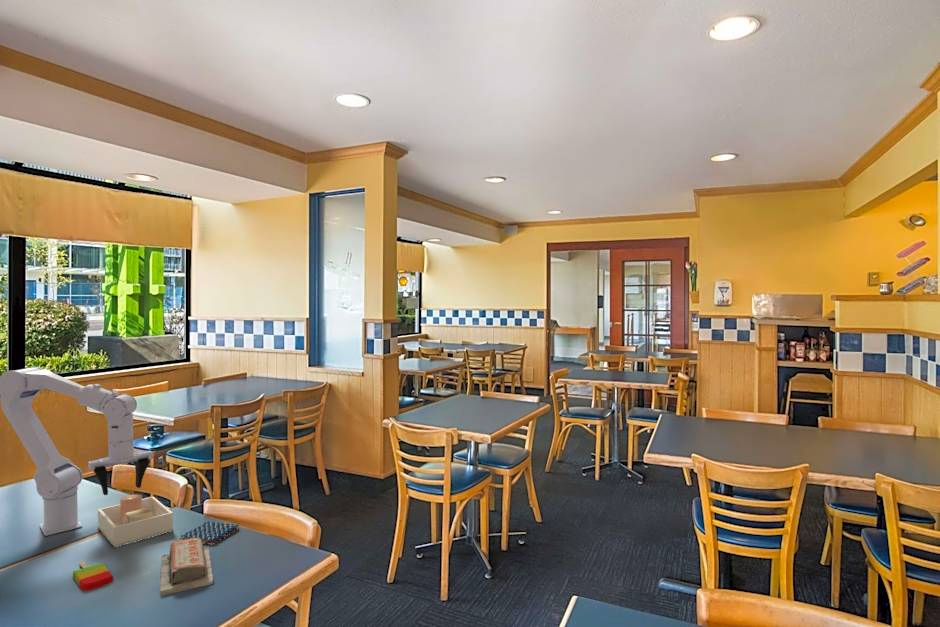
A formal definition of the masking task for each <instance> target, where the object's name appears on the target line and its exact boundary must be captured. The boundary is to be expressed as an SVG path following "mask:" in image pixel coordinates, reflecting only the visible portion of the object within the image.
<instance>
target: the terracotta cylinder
mask: <svg viewBox="0 0 940 627" xmlns="http://www.w3.org/2000/svg"><path fill="white" fill-rule="evenodd" d="M142 499H143V496H142V494H129V495H124V496H123V497H121V498H120V499H119V504H120V525H123V524H126V517H125V513H128V512H132V511H136V510H140V509H142Z"/></svg>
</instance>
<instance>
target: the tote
mask: <svg viewBox="0 0 940 627" xmlns="http://www.w3.org/2000/svg"><path fill="white" fill-rule="evenodd" d="M144 508H148V509H149V510H150V511H151V512H153V517H151V518H147V519H143V520H139V521H135V522H131V523H127V524H123V525H120V503H118V504H114V505H111V506H107V507H103V508H102V507H101V508H97V521H98V522H97V526H98V527H97V528H98V529H99V531H100V532H101V533H102V534H103V536H104V535H105V536H106V537H107V538H108V539H109V541H110V542H111V543H110V542H109V541H108V542H109V543H110V545H111V544H112V545H113V546H114V547H116V548H118V547H117V546H120V545H123V544H126V543H130V542H134V541H138V540H141V539H145V538H148V537H152V536H156V535H159V534H162V533H165V532H170V531H173V532H174V513H173V511H172V510H170V509H169V508H168V507H166V505H164V504H163V503H162V502H161V501H159V500H158V499H157V498H156V497H154V496H149V497H145V498H142V509H144ZM170 533H171V532H170ZM105 536H104V537H105ZM159 536H160V535H159ZM106 537H105V538H106ZM156 537H157V536H156ZM107 538H106V539H107ZM152 538H153V537H152ZM148 539H149V538H148ZM145 540H146V539H145ZM141 541H142V540H141ZM138 542H139V541H138ZM134 543H135V542H134ZM112 545H111V546H112ZM113 546H112V547H113ZM114 547H113V548H114ZM120 547H121V546H120Z"/></svg>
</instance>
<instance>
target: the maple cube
mask: <svg viewBox="0 0 940 627" xmlns="http://www.w3.org/2000/svg"><path fill="white" fill-rule="evenodd" d="M125 517H126V524H127V523H131V522H135V521H139V520H143V519H147V518H151V517H153V512H151V511H150V510H149V509H148V508H144V509H140V510H136V511H132V512H128V513H125Z"/></svg>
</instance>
